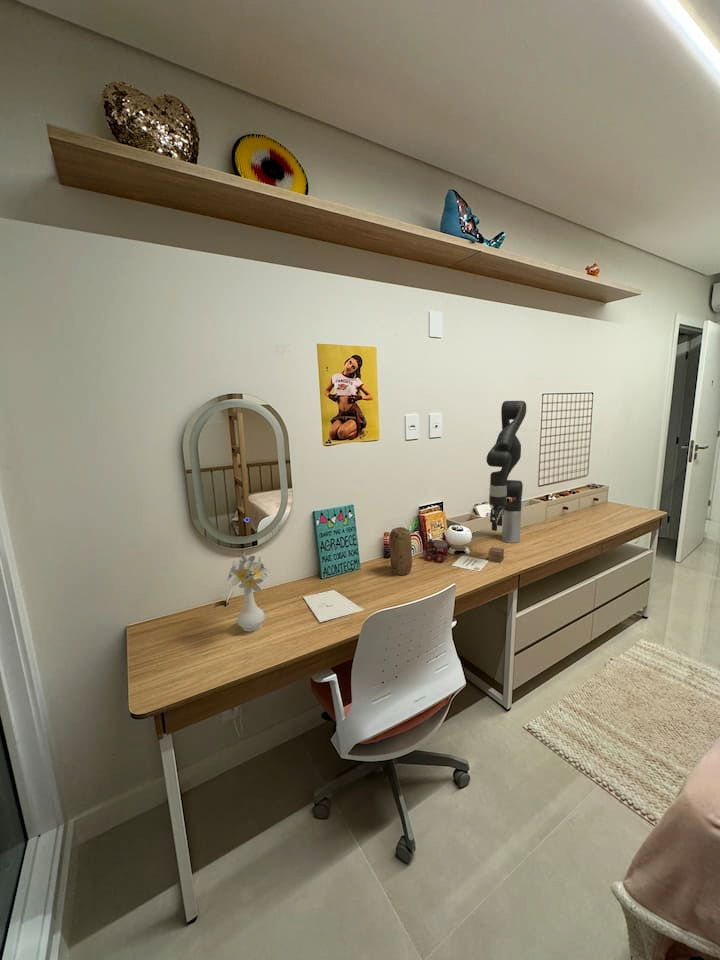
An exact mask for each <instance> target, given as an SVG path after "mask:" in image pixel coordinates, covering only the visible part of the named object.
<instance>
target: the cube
mask: <svg viewBox="0 0 720 960" xmlns="http://www.w3.org/2000/svg"><path fill="white" fill-rule="evenodd" d="M504 556H505V548H503V547H497V546H491V547H490V549H488V561H489V562H492V563H497V564H501V563H502V562H503V561H504V559H505V558H504Z"/></svg>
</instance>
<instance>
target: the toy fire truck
mask: <svg viewBox="0 0 720 960" xmlns="http://www.w3.org/2000/svg"><path fill="white" fill-rule="evenodd" d="M448 548H449V540H441V539H434V540H433V539H432V538H428V541H426V542H425V544H424V547H423V548H422V554H423V556H424V557H425V561H427V562H432V561H433V560H434V558H435V561H436V562H437V563H438V564H439V563H440V564H441V563H443V562H444V560H445V559H447V558H448V557H449V556H448V555H449V553H448ZM433 549H434V550H433Z"/></svg>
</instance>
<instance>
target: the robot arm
mask: <svg viewBox="0 0 720 960" xmlns="http://www.w3.org/2000/svg"><path fill="white" fill-rule="evenodd" d="M526 403H527V402H525V401H524V400H504V401H503V402H502V404H501V409H500V410H501V411H500V413H501V415H500V416H501V417H500V418H501V431H500V432H499V434H498V436H497V439H496V441H495V444H494V445H493V446H492V447H491V449H490V450H489V452H488V454H487V455H486V464H487V465H488V466H489V467H495V468H501V469H500V470H497V471H492V472H491V473H490V479H489V483H490V484H489V489H488V490H489V497H488V498H489V499H488V500H489V501H488V503H489V505H490V506H492V508H491V509H490V513H489V514H490V515H489V517H490V518H489V522H490V523H491V530H492V531H494V532H497V530H498V527H501V541H503V542H505V543H511V544H515V543H520V542H521V524H522V522H521V521H522V499H523V488H524V486H523V485H524V484H523V482H522V480H515V479H513V480H512V479H508V478H509V476H510V473H511V471H512V470H513V469H514V467H516V465H518V463H519V461H520V460H521V456H522V455H521V453H522V445H521V442H520V440H519V438H518V437H517V432H518V431H519V429H520V428H521V425H522V423H523V422H524V419H525V417H526V413H527V404H526ZM510 420H512V421H510ZM508 498H515V499H513V500H512V501H507V499H508Z"/></svg>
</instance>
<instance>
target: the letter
mask: <svg viewBox="0 0 720 960" xmlns="http://www.w3.org/2000/svg"><path fill="white" fill-rule="evenodd" d="M488 563H490V561H489V559H488V560H487V559H482V558H479V557H478V558H477V557H473V556H472V557H471V556H468V555H461V556H460V557H459V558H458V559H456V560H455V562H453V563H452V564H451V566H452V567H454V568H460V569H465V570H468V571H475V572H478V573H479V572H481V571H482V570H483V568H484V567H485V566H486V565H487V564H488Z"/></svg>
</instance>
